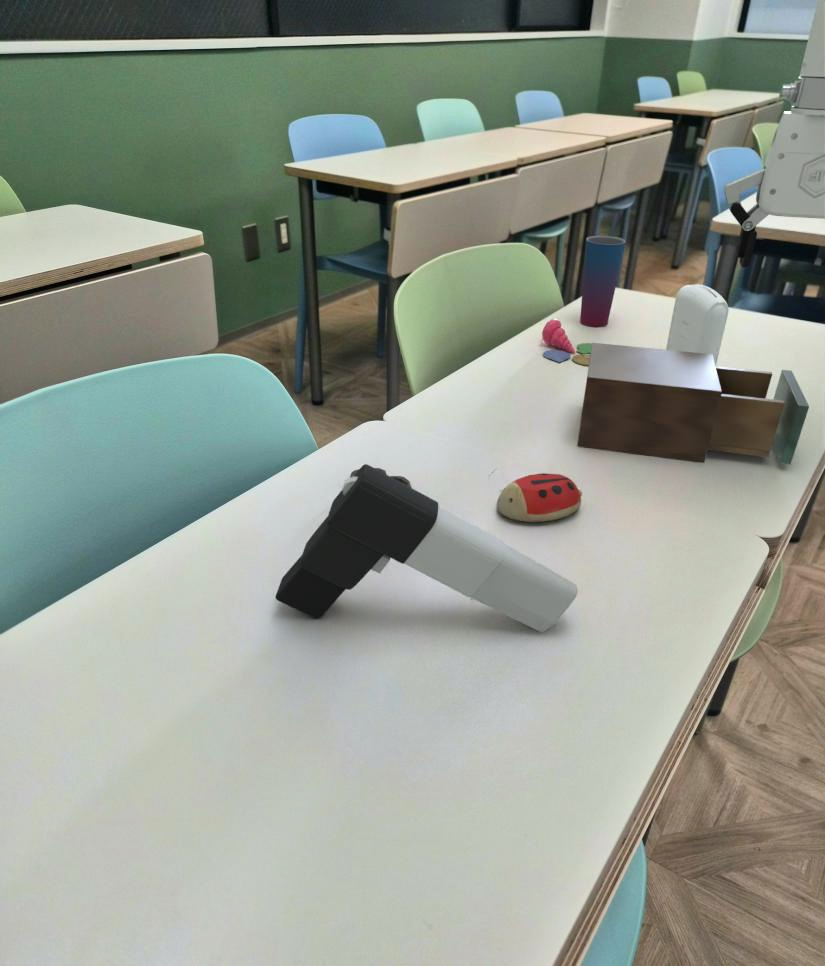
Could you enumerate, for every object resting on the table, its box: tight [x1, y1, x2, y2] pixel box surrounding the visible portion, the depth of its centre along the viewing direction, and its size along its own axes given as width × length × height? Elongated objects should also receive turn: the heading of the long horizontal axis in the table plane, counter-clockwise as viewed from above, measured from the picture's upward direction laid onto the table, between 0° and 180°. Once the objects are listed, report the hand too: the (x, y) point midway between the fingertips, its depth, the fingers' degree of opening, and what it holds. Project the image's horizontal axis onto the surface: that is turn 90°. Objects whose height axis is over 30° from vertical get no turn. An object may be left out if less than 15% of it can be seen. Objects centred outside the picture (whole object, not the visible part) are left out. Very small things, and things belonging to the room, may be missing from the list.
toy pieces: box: [541, 318, 593, 367], centre depth 122 cm, size 12×11×4 cm
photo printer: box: [665, 283, 729, 366], centre depth 116 cm, size 10×4×12 cm, turn 13°
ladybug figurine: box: [496, 473, 583, 523], centre depth 80 cm, size 7×10×4 cm
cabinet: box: [576, 342, 722, 463], centre depth 95 cm, size 16×13×10 cm
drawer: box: [707, 365, 810, 465], centre depth 93 cm, size 16×11×8 cm
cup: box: [579, 235, 627, 328], centre depth 132 cm, size 7×7×15 cm
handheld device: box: [275, 463, 579, 633], centre depth 64 cm, size 4×22×15 cm, turn 86°
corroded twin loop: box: [349, 467, 412, 488], centre depth 84 cm, size 5×8×1 cm, turn 54°
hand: (788, 267), depth 83 cm, fingers open, 9 cm apart
